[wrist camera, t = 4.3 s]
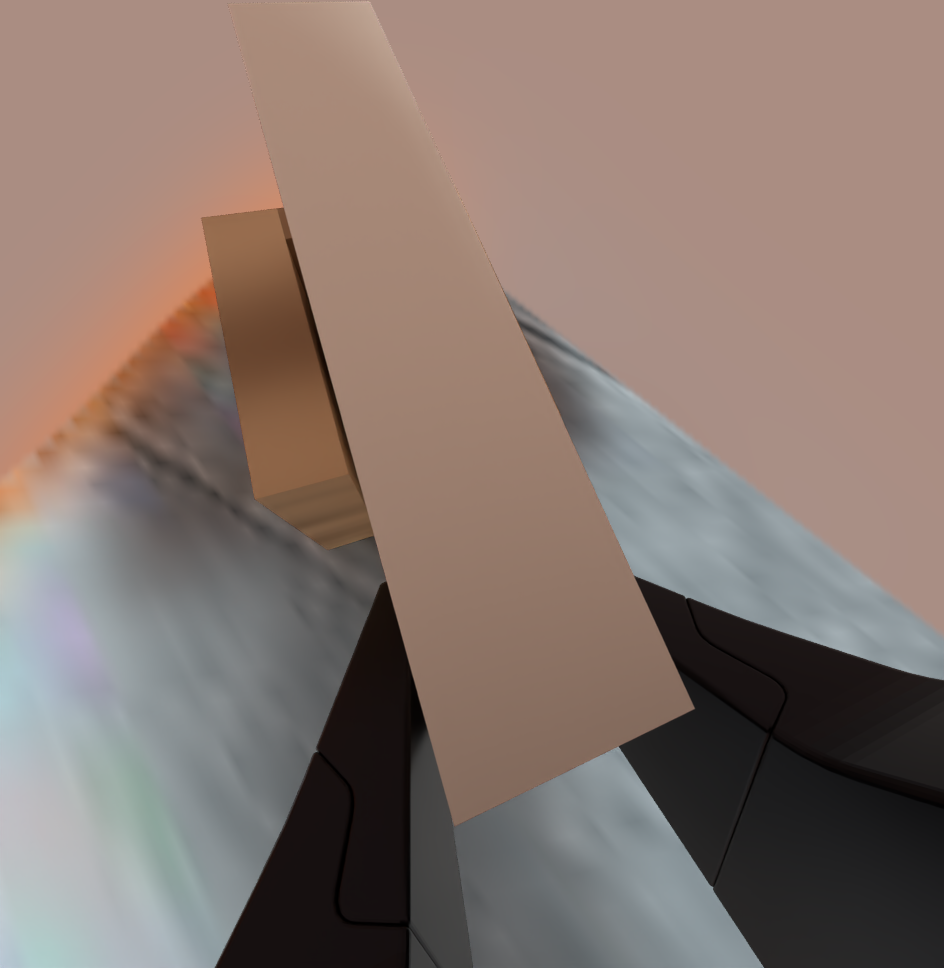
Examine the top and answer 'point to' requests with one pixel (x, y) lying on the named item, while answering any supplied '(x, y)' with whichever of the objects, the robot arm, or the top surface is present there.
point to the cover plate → (450, 427)
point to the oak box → (284, 380)
